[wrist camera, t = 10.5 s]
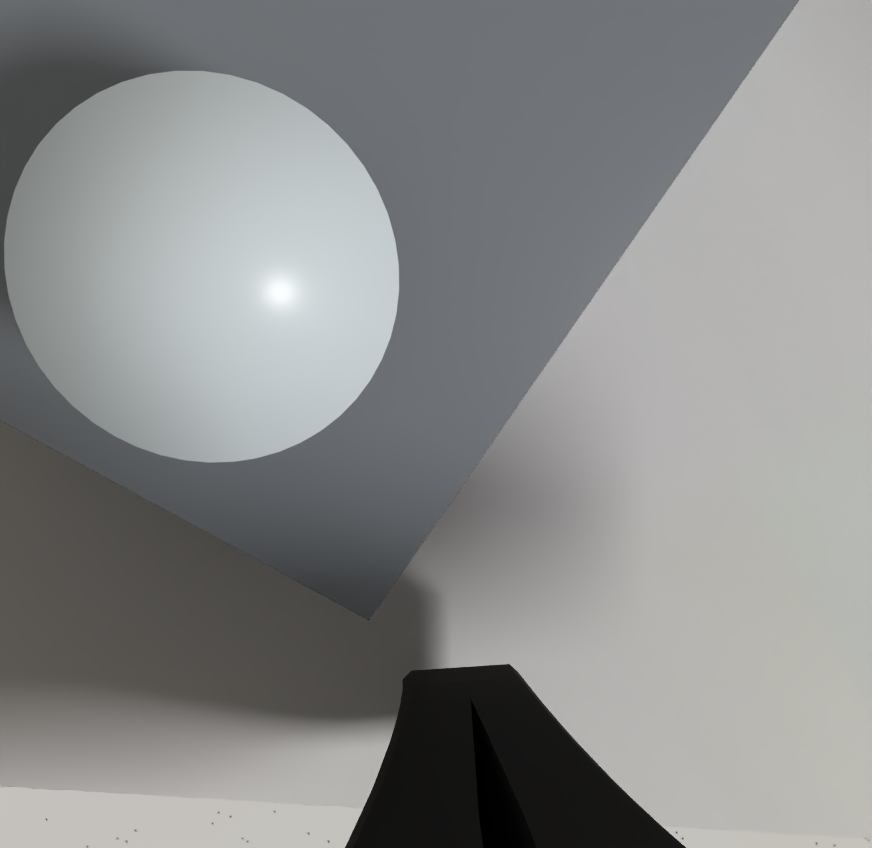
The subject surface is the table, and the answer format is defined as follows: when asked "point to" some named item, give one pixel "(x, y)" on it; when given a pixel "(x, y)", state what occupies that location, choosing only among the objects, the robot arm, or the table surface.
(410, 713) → the robot arm
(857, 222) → the table surface
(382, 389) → the grey rectangular block
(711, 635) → the table surface
